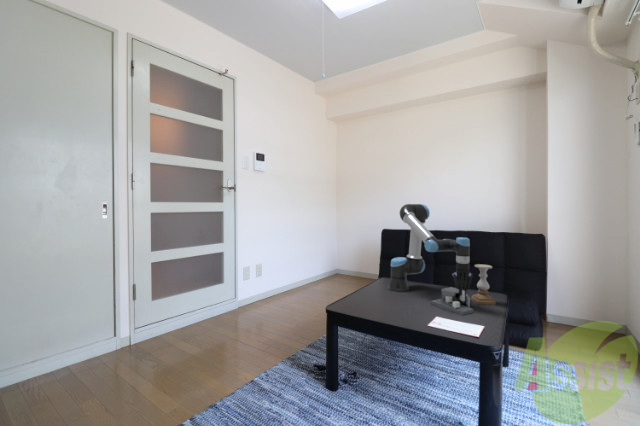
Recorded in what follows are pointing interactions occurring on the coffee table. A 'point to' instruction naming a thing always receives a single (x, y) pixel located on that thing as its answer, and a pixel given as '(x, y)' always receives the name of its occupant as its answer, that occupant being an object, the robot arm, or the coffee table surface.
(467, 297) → the door
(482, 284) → the candle holder
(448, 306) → the console
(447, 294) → the cabinet
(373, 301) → the coffee table surface
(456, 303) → the fader
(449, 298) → the fader
